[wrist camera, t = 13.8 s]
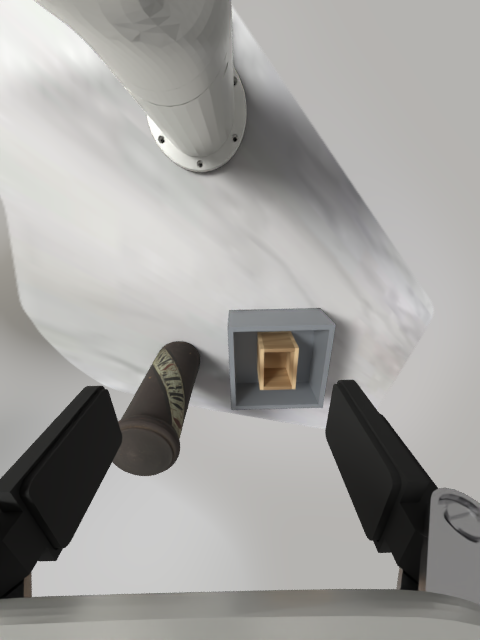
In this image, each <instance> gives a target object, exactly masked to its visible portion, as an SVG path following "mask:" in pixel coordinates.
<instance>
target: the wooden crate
mask: <svg viewBox="0 0 480 640" xmlns="http://www.w3.org/2000/svg"><path fill="white" fill-rule="evenodd" d="M298 354H299V347H298V345H297V343H296V341H295V339H294V337H293V335H292V333H291V331H278V332H257V372H258V380H259V387H260V390H285V389H295V387H296V376H297V365H298Z"/></svg>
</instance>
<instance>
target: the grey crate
mask: <svg viewBox="0 0 480 640" xmlns="http://www.w3.org/2000/svg"><path fill="white" fill-rule="evenodd" d="M335 326H336V324H335V323H334V322H333V321H332V320H331V319H330V318H329V317H328V316H327V315H326V314H325V313H324V312H323V311H322V310H321V309H320V308H308V309H265V310H229V318H228V346H229V368H230V389H231V410H245V409H287V408H323V402H324V396H325V389H326V383H327V377H328V370H329V364H330V358H331V351H332V345H333V339H334V333H335ZM278 331H291V333H292V335H293V337H294V339H295V341H296V343H297V345H298V347H299V354H298V365H297V376H296V387H295V389H285V390H260V387H259V380H258V372H257V332H278Z"/></svg>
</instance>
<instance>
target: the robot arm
mask: <svg viewBox="0 0 480 640" xmlns="http://www.w3.org/2000/svg"><path fill="white" fill-rule="evenodd" d="M34 1H35V2H36V3H38V4H39V5H40V6H42V7H43V8H44V9H46V10H47V11H48V12H50V13H51V14H53V15H54V16H55V17H57V18H58V19H59V20H61V21H62V22H63V23H65V24H66V25H67V26H68V27H70V28H71V29H72V30H73V31H74V32H75V33H77V34H78V35H79V36H80V37H81V38H82V39H83V40H84V41H85V42H86V43H87V44H88V45H89V46H90V47H91V49H92V50H93V51H94V52H95V53H96V54H97V55H98V56H99V58H100V59H101V60H102V61H103V62H104V63H105V64H106V66H107V67H108V68H109V69H110V70H111V72H112V73H113V74H114V75H115V77H116V78H117V79H118V80H119V81H120V83H121V84H122V85H123V86H124V87H125V89H126V90H127V91H128V92H129V93H130V95H131V96H132V97H133V98H134V99H135V101H136V102H137V103H138V104H139V105H140V106H141V108H142V109H143V110H144V111H145V112H146V116H147V120H148V125H149V128H150V130H151V133H152V136H153V137H154V139H155V141H156V143H157V145H158V146H159V148H160V149H161V150H162V151H163V153H164V154H165V155H166V156H167V157H168V158H169V159H170V160H171V161H173V162H174V163H175V164H177V165H178V166H180V167H182V168H184V169H186V170H190V171H193V172H208V171H212V170H215V169H217V168H219V167H221V166H222V165H224V164H225V163H227V162H228V161H229V160H230V159H231V157H232V156H233V155H234V154H235V152H236V151H237V149H238V147H239V146H240V143H241V141H242V138H243V135H244V131H245V126H246V117H247V109H246V98H245V92H244V89H243V86H242V83H241V80H240V78H239V76H238V74H237V72H236V70H235V68H234V67H233V43H232V10H231V0H34ZM234 83H235V84H236V86H234ZM234 138H236V139H237V141H236V142H234V141H233V139H234ZM162 140H165V142H164V143H162ZM201 163H202V164H203V166H202V167H199V164H201ZM326 439H327V442H328V444H329V446H330V449H331V451H332V454H333V456H334V459H335V461H336V463H337V466H338V468H339V471H340V473H341V476H342V478H343V480H344V483H345V485H346V488H347V490H348V493H349V495H350V497H351V500H352V502H353V505H354V507H355V510H356V512H357V515H358V517H359V519H360V522H361V524H362V527H363V529H364V532H365V534H366V536H367V538H368V539H369V540H373V541H374V544H375V546H376V548H377V551H378V553H387V552H388V553H389V552H392V555H393V556H394V559H395V561H396V563H397V565H398V566H399V574H398V581H397V589H391V590H390V589H380V590H379V589H325V590H324V589H323V590H273V591H225V592H185V593H149V594H148V593H146V594H112V595H80V596H48V597H32V589H31V588H32V586H31V585H32V583H31V582H32V581H31V571H32V570H33V568H34V566H35V564H36V563H37V561H56V560H57V558H58V556H59V555H60V553H61V551H62V549H63V548H65V547H66V546H67V545H68V544H69V543H70V541H71V540H72V538H73V536H74V534H75V532H76V530H77V528H78V526H79V524H80V522H81V520H82V518H83V517H84V515H85V513H86V511H87V509H88V507H89V505H90V503H91V501H92V499H93V497H94V496H95V493H96V492H97V489H98V488H99V486H100V484H101V482H102V480H103V478H104V476H105V474H106V472H107V470H108V469H109V467H110V465H111V463H112V461H113V459H114V457H115V455H116V453H117V451H118V450H119V448H120V446H121V443H122V433H121V430H120V427H119V423H118V420H117V417H116V414H115V411H114V407H113V404H112V401H111V398H110V394H109V392H108V390H107V389H105V388H104V387H103V386H87V387H85V388H84V389H83V390H82V391H81V392H80V393H79V394H78V395H77V396H76V397H75V399H74V400H73V401H72V402H71V403H70V404H69V405H68V406H67V407H66V408H65V410H64V411H63V412H62V413H61V414H60V415H59V416H58V417H57V418H56V419H55V420H54V421H53V422H52V424H51V425H50V426H49V427H48V428H47V429H46V430H45V431H44V432H43V433H42V434H41V435H40V437H39V438H38V439H37V440H36V441H35V442H34V443H33V444H32V445H31V446H30V447H29V449H28V450H27V451H26V452H25V453H24V454H23V455H22V456H21V457H20V458H19V459H18V461H16V463H15V464H14V465H13V466H12V467H11V468H10V469H9V470H8V471H7V472H6V474H5V475H4V476H3V477H2V478H1V479H0V640H480V503H478V502H477V501H476V500H474V499H473V498H471V497H469V496H468V495H466V494H464V493H462V492H459V491H457V490H454V489H449V488H439V489H438V488H437V486H436V485H435V484H434V482H433V481H432V480H431V478H430V477H429V476H428V474H427V473H426V472H425V471H424V469H423V468H422V467H421V465H420V464H419V463H418V461H417V460H416V459H415V457H414V456H413V455H412V453H411V452H410V450H409V449H408V448H407V446H406V445H405V444H404V443H403V441H402V440H401V439H400V437H399V436H398V434H397V433H396V432H395V431H394V429H393V428H392V427H391V425H390V424H389V423H388V421H387V420H386V419H385V417H383V415H381V414H380V413H379V412H378V411H377V410H376V408H375V407H374V406H373V404H372V403H371V402H370V400H369V399H368V398H367V396H366V395H365V394H364V392H363V391H362V390H361V388H360V387H359V385H358V384H357V383H356V382H355V381H354V380H339V381H338V382H337V384H334V386H333V391H332V396H331V402H330V408H329V414H328V419H327V425H326Z"/></svg>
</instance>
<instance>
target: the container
mask: <svg viewBox="0 0 480 640" xmlns="http://www.w3.org/2000/svg"><path fill="white" fill-rule="evenodd" d="M199 365H200V356H199V353H198V351H197V350H196V349H195V348H194V347H193V346H192V345H191V344H189V343H186V342H172V343H169V344H167V345H165V346H164V347H163V348H162V349H161V350H160V352H159V353H158V355H157V357H156V358H155V360H154V362H153V364H152V365H151V367H150V369H149V371H148V372H147V374H146V376H145V378H144V380H143V381H142V383H141V385H140V387H139V389H138V390H137V392H136V394H135V396H134V398H133V400H132V401H131V403H130V405H129V407H128V408H127V410H126V412H125V414H124V415H123V417H122V419H121V420H120V421H118V423H119V427H120V430H121V433H122V443H121V446H120V448H119V450H118V451H117V453H116V455H115V457H114V459H113V461H112V462H113V463H114V464H115V465H116V466H117V467H119V468H120V469H122V470H123V471H125V472H128V473H131V474H134V475H139V476H151V475H156V474H158V473H161V472H163V471H165V470H167V469H168V468H170V467H171V466H172V465H173V464H174V463H175V461H176V460H177V458H178V455H179V452H180V442H179V438H180V435H181V431H182V426H183V423H184V419H185V415H186V412H187V409H188V404H189V401H190V397H191V393H192V390H193V386H194V383H195V379H196V376H197V373H198V369H199Z"/></svg>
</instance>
